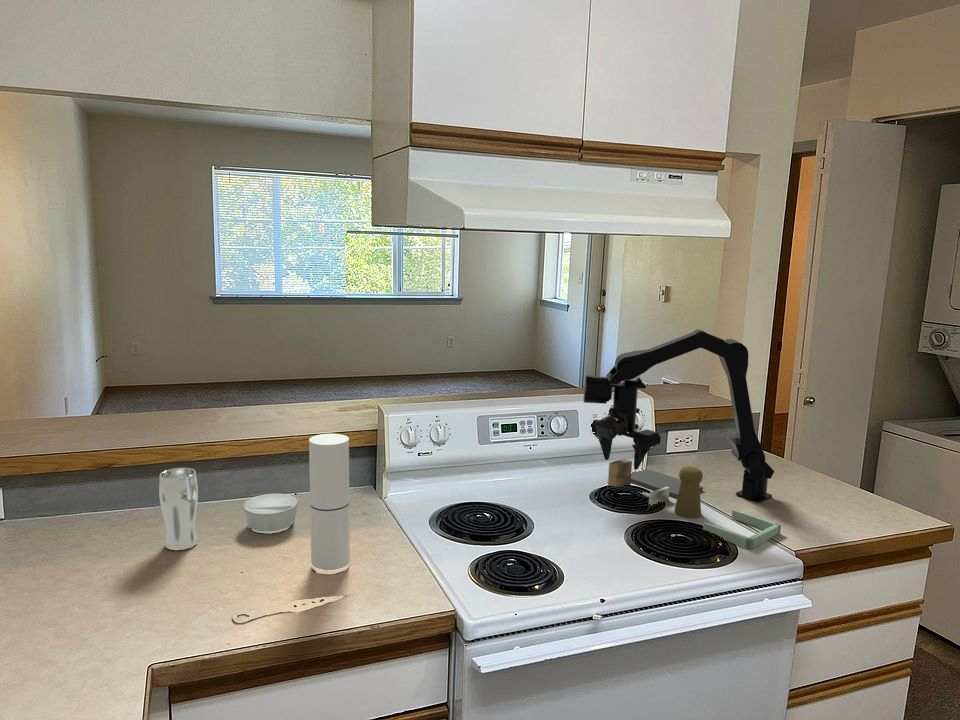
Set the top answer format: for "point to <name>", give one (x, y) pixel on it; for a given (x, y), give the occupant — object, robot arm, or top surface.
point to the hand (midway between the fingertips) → (621, 464)
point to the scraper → (622, 476)
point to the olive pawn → (689, 493)
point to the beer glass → (179, 505)
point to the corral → (744, 541)
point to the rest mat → (657, 481)
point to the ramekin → (270, 512)
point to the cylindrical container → (329, 501)
